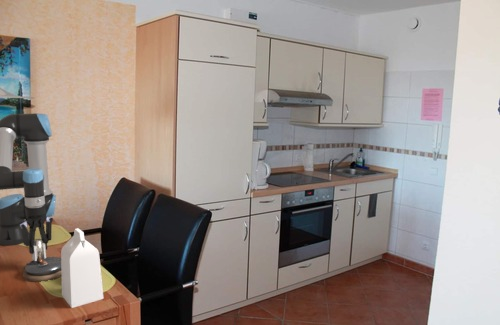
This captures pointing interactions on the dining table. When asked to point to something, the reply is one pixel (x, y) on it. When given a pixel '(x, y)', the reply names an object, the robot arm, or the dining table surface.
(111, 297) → the dining table surface
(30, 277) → the wheel base
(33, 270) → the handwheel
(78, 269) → the milk
